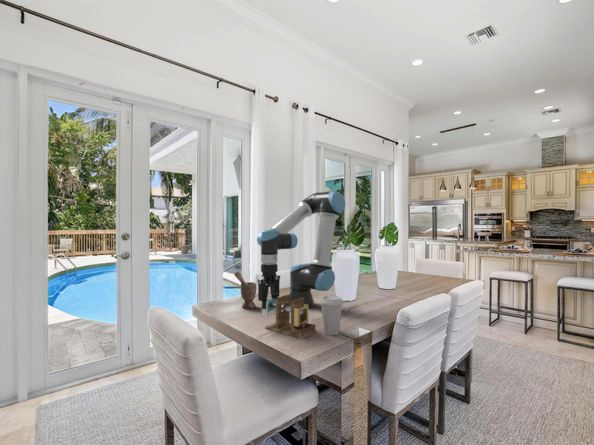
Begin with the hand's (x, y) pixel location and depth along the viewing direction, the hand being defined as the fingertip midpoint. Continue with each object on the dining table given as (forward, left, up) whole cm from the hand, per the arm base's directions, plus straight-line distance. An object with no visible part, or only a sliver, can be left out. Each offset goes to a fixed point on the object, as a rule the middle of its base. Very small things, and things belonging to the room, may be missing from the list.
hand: (269, 314), depth 142 cm
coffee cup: (+28, +9, -5) cm, 30 cm away
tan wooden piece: (+18, 0, +3) cm, 18 cm away
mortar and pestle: (-28, +13, -5) cm, 31 cm away
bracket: (+12, 0, -5) cm, 13 cm away
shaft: (+8, 0, +2) cm, 9 cm away
